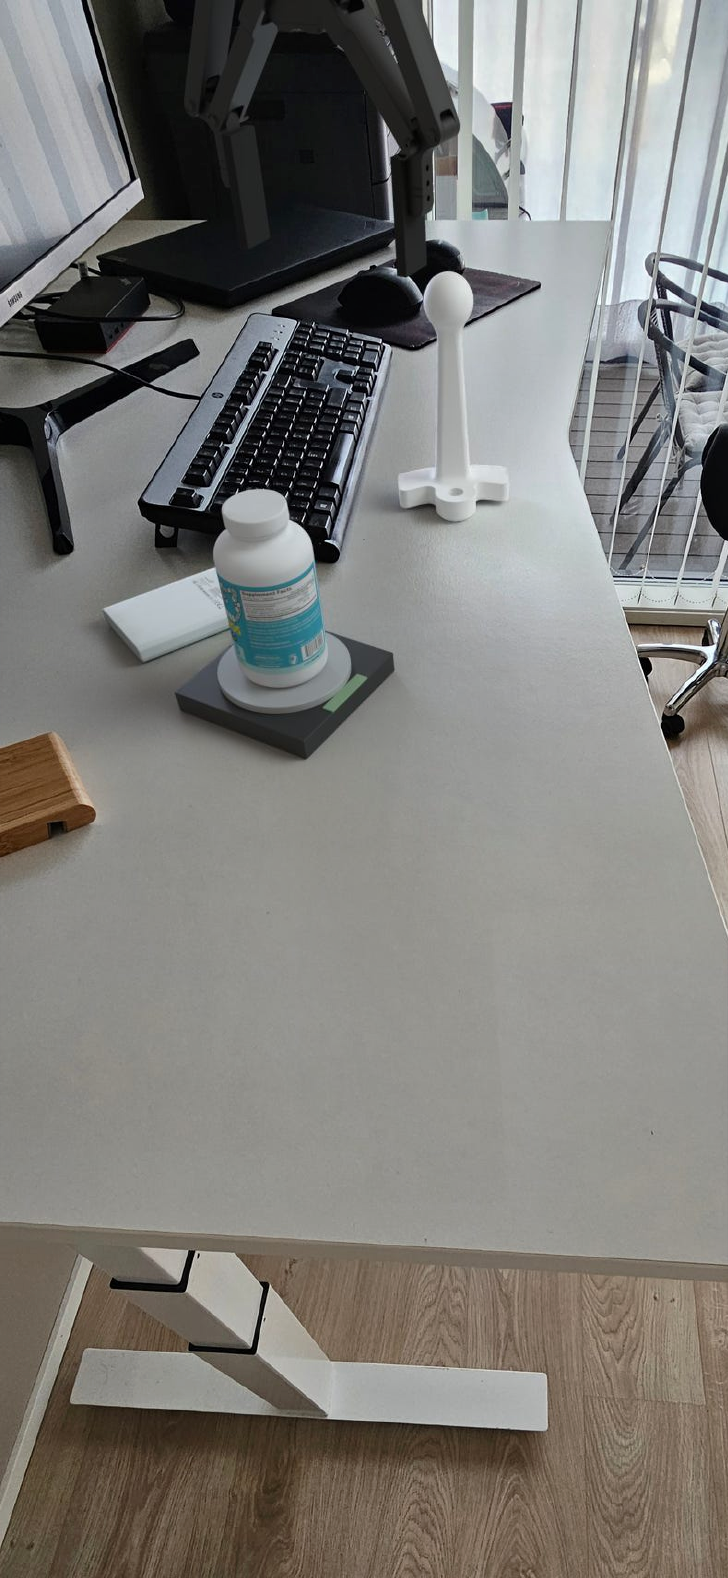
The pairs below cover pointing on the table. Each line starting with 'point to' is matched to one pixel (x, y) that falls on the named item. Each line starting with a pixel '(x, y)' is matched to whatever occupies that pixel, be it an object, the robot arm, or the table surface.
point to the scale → (288, 696)
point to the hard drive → (170, 616)
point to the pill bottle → (270, 591)
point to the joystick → (451, 416)
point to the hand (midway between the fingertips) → (331, 257)
